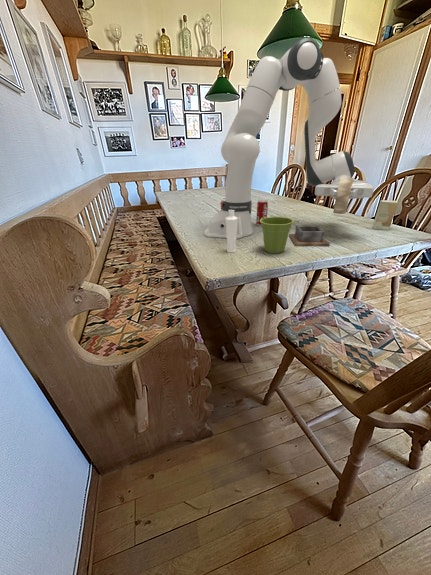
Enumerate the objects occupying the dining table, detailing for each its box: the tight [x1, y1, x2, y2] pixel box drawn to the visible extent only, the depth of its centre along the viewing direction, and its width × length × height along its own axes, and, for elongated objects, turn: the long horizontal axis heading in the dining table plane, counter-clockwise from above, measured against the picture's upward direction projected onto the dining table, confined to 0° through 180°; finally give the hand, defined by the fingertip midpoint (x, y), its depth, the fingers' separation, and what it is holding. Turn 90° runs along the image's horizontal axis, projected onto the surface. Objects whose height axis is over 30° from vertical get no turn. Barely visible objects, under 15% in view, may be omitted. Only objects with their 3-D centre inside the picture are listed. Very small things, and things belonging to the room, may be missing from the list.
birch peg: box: [332, 177, 355, 215], centre depth 91 cm, size 4×4×12 cm
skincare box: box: [372, 199, 399, 231], centre depth 111 cm, size 6×4×12 cm
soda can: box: [255, 199, 269, 227], centre depth 122 cm, size 5×5×12 cm
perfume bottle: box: [225, 210, 238, 253], centre depth 90 cm, size 5×4×15 cm
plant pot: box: [260, 216, 295, 254], centre depth 90 cm, size 12×12×11 cm
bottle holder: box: [288, 225, 330, 247], centre depth 100 cm, size 13×13×5 cm
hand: (343, 193), depth 89 cm, fingers closed on birch peg, 4 cm apart
